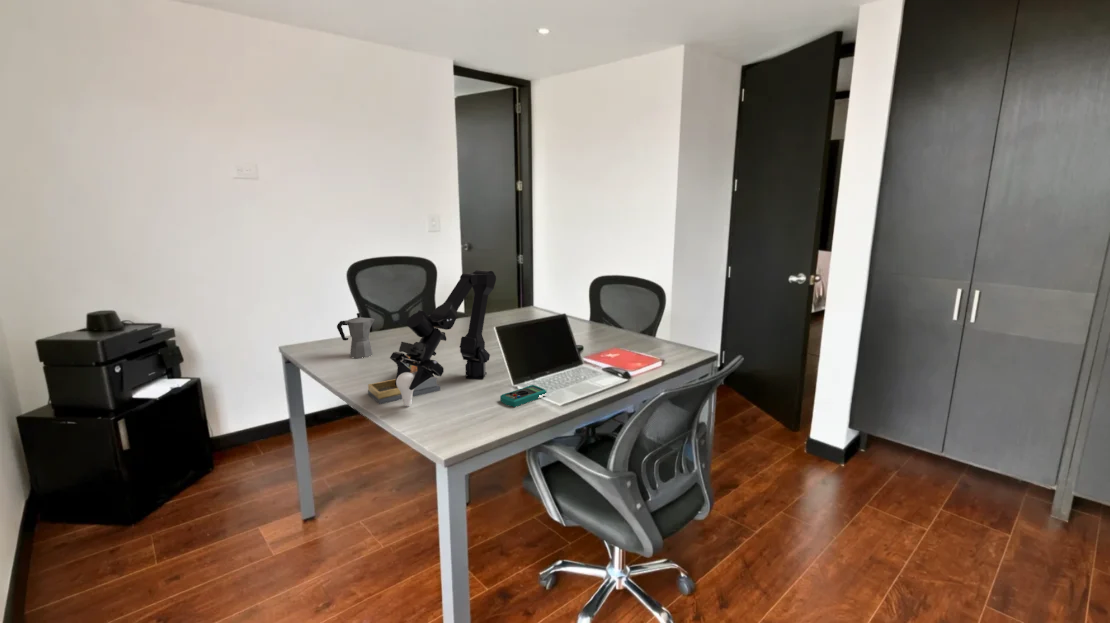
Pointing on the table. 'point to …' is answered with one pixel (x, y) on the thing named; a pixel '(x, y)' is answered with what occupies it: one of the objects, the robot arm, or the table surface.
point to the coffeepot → (358, 335)
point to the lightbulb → (405, 387)
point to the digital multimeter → (522, 395)
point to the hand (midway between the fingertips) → (403, 387)
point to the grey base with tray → (390, 391)
